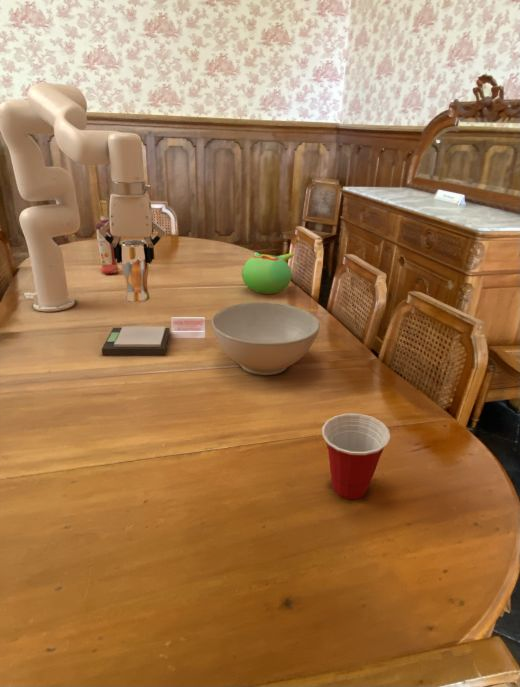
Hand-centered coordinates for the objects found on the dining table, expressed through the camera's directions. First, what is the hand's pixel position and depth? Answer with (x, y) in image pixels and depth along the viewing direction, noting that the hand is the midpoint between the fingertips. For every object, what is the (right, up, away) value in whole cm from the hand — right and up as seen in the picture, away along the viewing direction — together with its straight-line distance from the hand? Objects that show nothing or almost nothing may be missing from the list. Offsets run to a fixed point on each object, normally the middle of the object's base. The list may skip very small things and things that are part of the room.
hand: (134, 261), depth 120 cm
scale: (-2, -21, +10) cm, 23 cm away
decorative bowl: (+33, -26, +2) cm, 42 cm away
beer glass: (0, -9, +4) cm, 10 cm away
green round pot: (+34, -2, +54) cm, 64 cm away
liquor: (-28, +7, +69) cm, 75 cm away
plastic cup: (+47, -46, -39) cm, 77 cm away
